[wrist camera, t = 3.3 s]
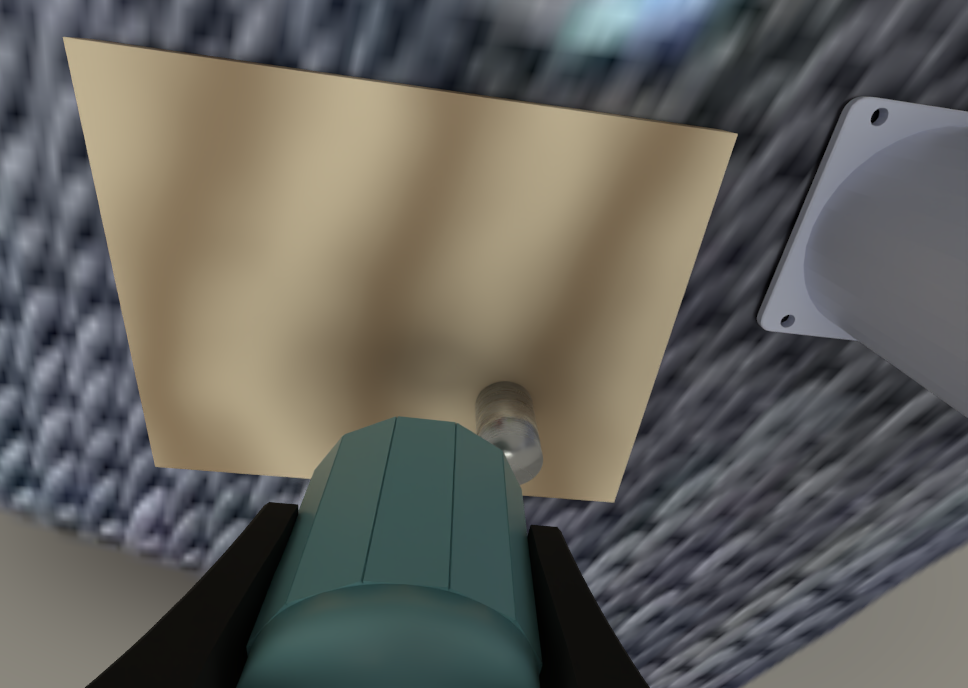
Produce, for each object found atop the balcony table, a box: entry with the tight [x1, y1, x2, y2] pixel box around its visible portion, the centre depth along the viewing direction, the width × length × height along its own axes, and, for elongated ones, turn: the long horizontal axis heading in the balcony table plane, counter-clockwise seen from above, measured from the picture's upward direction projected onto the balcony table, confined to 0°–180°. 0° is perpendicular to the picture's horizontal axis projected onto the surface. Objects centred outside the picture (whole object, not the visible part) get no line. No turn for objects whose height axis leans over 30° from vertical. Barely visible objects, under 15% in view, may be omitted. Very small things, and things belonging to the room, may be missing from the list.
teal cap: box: [236, 416, 542, 688], centre depth 11 cm, size 5×5×5 cm
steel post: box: [475, 381, 543, 485], centre depth 19 cm, size 2×2×3 cm
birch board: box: [63, 37, 738, 502], centre depth 19 cm, size 19×15×1 cm
